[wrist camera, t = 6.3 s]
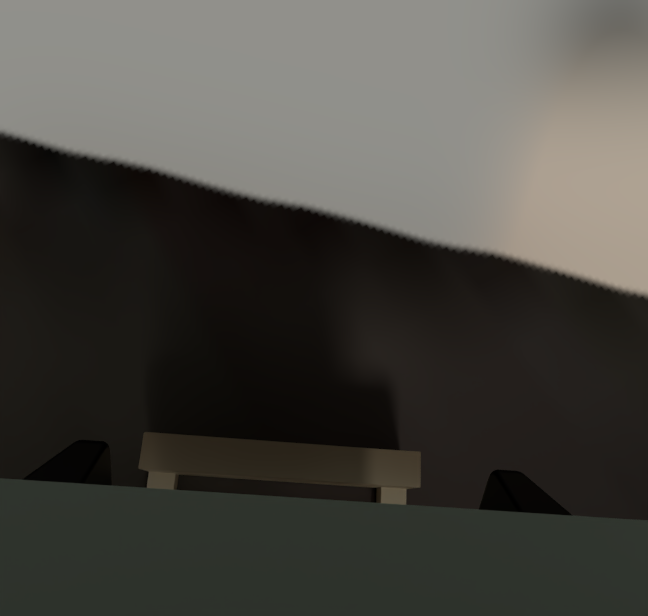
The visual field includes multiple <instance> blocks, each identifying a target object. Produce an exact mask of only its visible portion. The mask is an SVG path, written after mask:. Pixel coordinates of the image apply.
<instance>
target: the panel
mask: <svg viewBox="0 0 648 616" xmlns="http://www.w3.org/2000/svg"><path fill="white" fill-rule="evenodd" d="M0 616H648V521H646V520H631V519H616V518H600V517H585V516H570V515H554V514H539V513H524V512H508V511H493V510H478V509H462V508H447V507H432V506H417V505H401V504H386V503H371V502H355V501H340V500H325V499H309V498H294V497H279V496H263V495H248V494H233V493H217V492H202V491H187V490H171V489H156V488H141V487H125V486H110V485H95V484H80V483H64V482H49V481H34V480H18V479H3V478H0Z"/></svg>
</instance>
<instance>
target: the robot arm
mask: <svg viewBox="0 0 648 616" xmlns="http://www.w3.org/2000/svg"><path fill="white" fill-rule="evenodd" d="M22 480H34V481H49V482H64V483H80V484H95V485H110V486H112V481H111V462H110V448H109V446H108V444H107V443H106V442H104V441H91V440H78V441H76V442H74V443H73V444H71V445H70V446H68V447H67V448H66V449H64V450H63V451H61V452H60V453H59V454H57V455H56V456H54V457H53V458H52V459H50V460H49V461H48V462H46V463H45V464H43V465H42V466H41V467H39V468H38V469H36V470H35V471H34V472H32V473H31V474H29V475H28V476H27V477H25V478H24V479H22ZM479 510H493V511H508V512H524V513H539V514H554V515H570V516H573V515H571V514H570V513H569V512H568V511H567V510H566V509H564V508H563V507H562V506H561V505H560V504H558V503H557V502H556V501H555V500H554V499H553V498H551V497H550V496H549V495H548V494H547V493H545V492H544V491H543V490H542V489H541V488H540V487H538V486H537V485H536V484H535V483H534V482H533V481H531V480H530V479H529V478H528V477H527V476H525V475H524V474H523V473H521V472H518V471H510V470H495V471H493V472H492V473H491V474H490V476H489V479H488V482H487V485H486V488H485V491H484V494H483V498H482V501H481V504H480V507H479Z"/></svg>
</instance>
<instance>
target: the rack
mask: <svg viewBox="0 0 648 616" xmlns="http://www.w3.org/2000/svg"><path fill="white" fill-rule="evenodd" d="M138 468H139V469H142V470H145V471H149V475H148V482H147V488H156V489H171V490H177V485H178V478H179V475H192V476H207V477H222V478H237V479H252V480H267V481H282V482H297V483H311V484H326V485H341V486H356V487H371V488H377V489H376V503H386V504H401V505H406V489H410V488H420V480H421V452H414V451H400V450H386V449H373V448H359V447H345V446H331V445H318V444H304V443H290V442H276V441H263V440H249V439H235V438H221V437H208V436H194V435H180V434H166V433H153V432H144V436H143V442H142V448H141V454H140V461H139V467H138Z"/></svg>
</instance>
